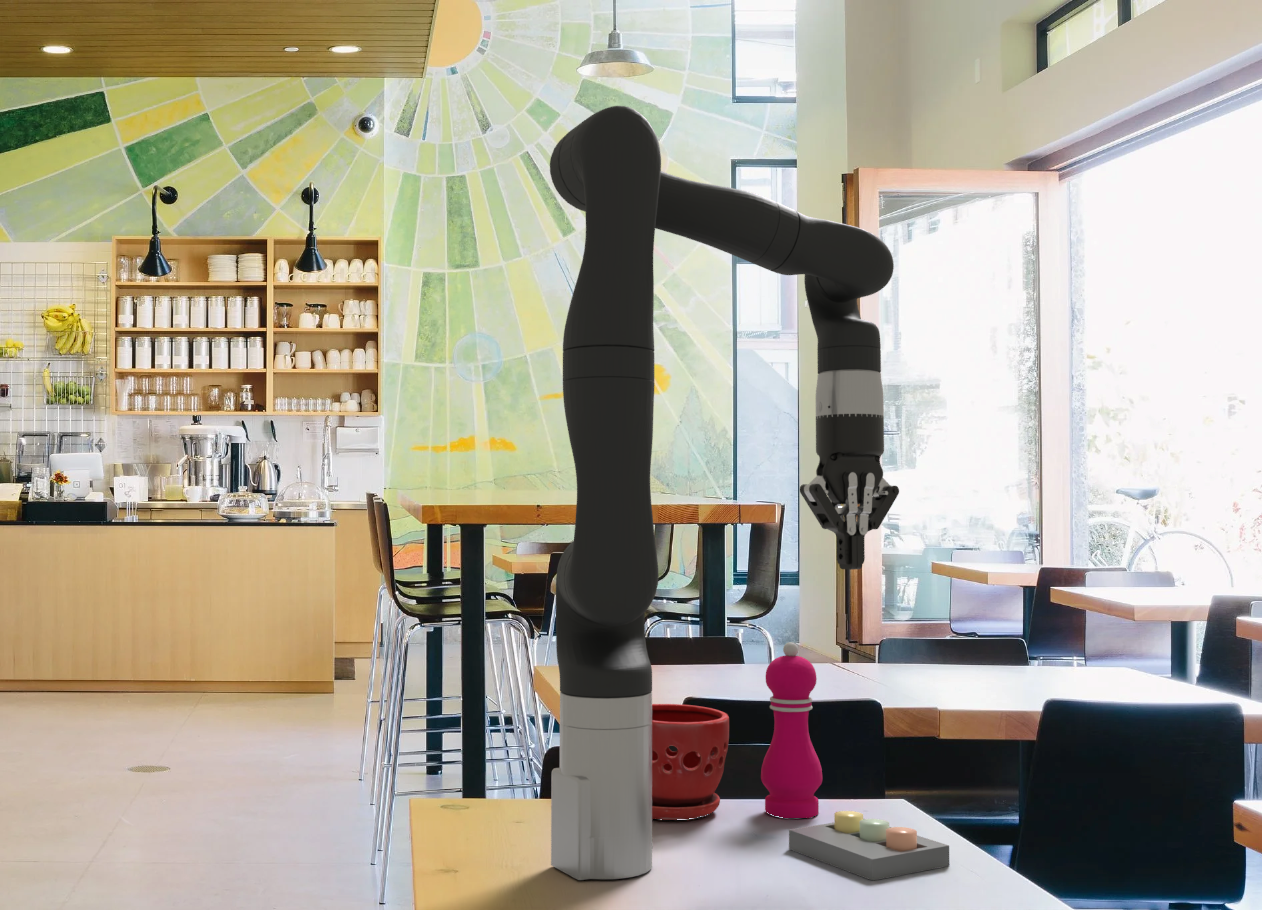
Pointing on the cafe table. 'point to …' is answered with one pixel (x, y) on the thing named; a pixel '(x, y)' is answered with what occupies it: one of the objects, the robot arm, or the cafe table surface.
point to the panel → (866, 852)
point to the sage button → (873, 829)
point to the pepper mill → (791, 739)
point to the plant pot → (687, 760)
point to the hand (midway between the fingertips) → (850, 568)
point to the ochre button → (847, 821)
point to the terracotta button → (901, 838)
